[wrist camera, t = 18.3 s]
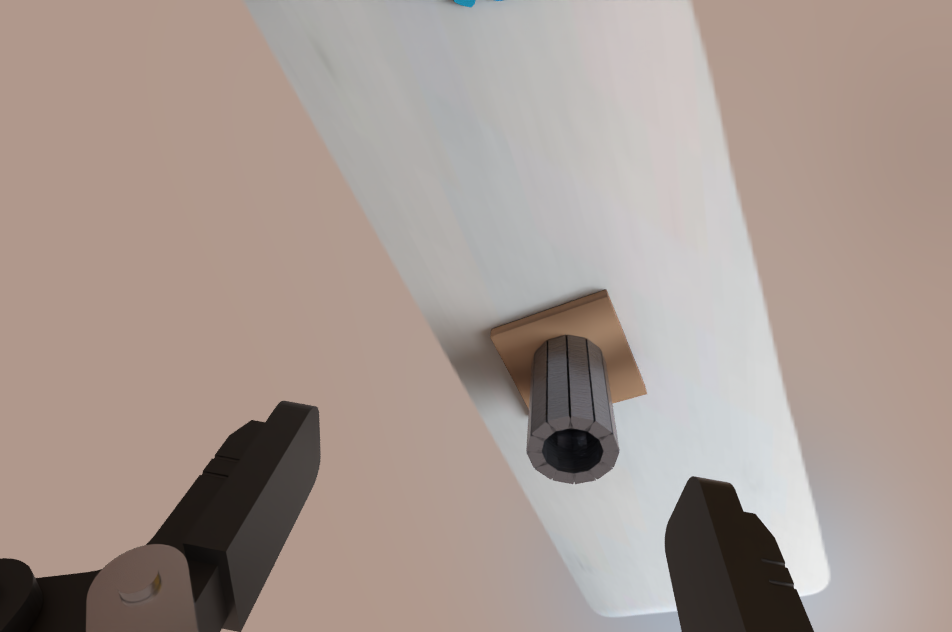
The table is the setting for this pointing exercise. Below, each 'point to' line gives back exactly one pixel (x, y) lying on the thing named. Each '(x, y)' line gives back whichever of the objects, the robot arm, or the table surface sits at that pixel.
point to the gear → (467, 2)
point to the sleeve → (571, 412)
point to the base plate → (577, 319)
